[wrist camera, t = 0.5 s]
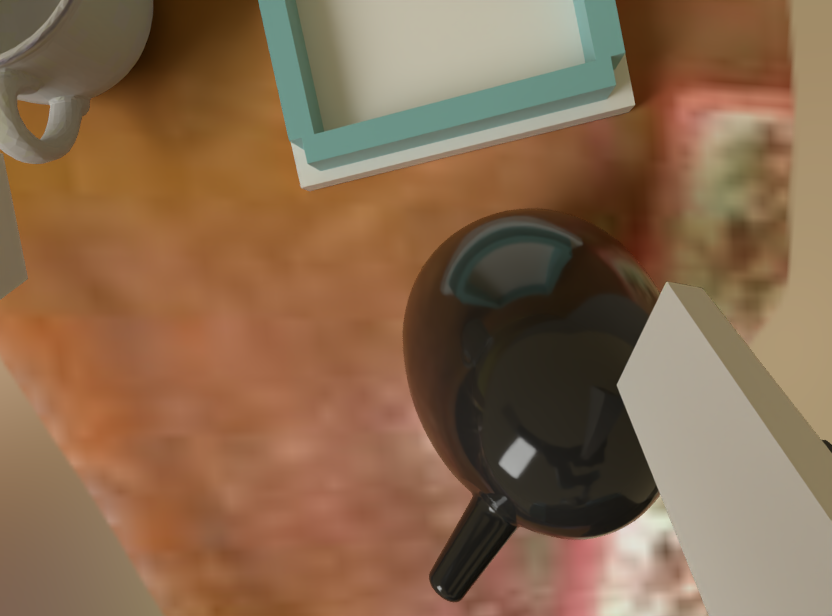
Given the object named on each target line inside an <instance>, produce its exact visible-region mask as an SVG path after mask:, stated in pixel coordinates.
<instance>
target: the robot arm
mask: <svg viewBox="0 0 832 616" xmlns="http://www.w3.org/2000/svg"><path fill="white" fill-rule="evenodd" d="M27 279H28V276H27V271H26V266H25V261H24V257H23V252H22V247H21V242H20V237H19V232H18V227H17V222H16V217H15V212H14V207H13V202H12V197H11V192H10V187H9V182H8V177H7V172H6V167H5V162H4V157H3V154H1V153H0V299H2V298H3V297H4V296H6V295H7V294H8V293H10V292H11V291H12V290H14V289H15V288H16V287H18V286H19V285H20V284H22V283H23V282H24V281H26V280H27ZM617 387H618V390H619V392H620V395H621V397H622V400H623V402H624V405H625V407H626V410H627V412H628V415H629V417H630V420H631V422H632V425H633V427H634V430H635V432H636V435H637V437H638V440H639V442H640V445H641V447H642V450H643V452H644V455H645V457H646V460H647V462H648V465H649V467H650V470H651V472H652V475H653V478H654V480H655V483H656V485H657V488H658V490H659V493H660V495H661V498H662V500H663V503H664V505H665V508H666V510H667V513H668V515H669V518H670V520H671V523H672V525H673V528H674V530H675V533H676V535H677V538H678V540H679V543H680V545H681V548H682V550H683V553H684V555H685V558H686V560H687V563H688V565H689V568H690V570H691V573H692V575H693V578H694V580H695V583H696V585H697V588H698V590H699V593H700V595H701V598H702V600H703V603H704V605H705V608H706V610H707V613H708V615H709V616H832V445H831V444H830V443H829V442H828V441H826V440H821V439H820V437H819V436H818V435H817V434H816V432H815V431H814V430H813V429H812V427H811V426H810V425H809V424H808V422H807V421H806V420H805V419H804V417H803V416H802V414H801V413H800V412H799V411H798V409H797V408H796V407H795V406H794V404H793V403H792V402H791V400H790V399H789V398H788V397H787V395H786V394H785V393H784V392H783V390H782V389H781V388H780V387H779V385H778V384H777V383H776V381H775V380H774V379H773V378H772V376H771V375H770V374H769V372H768V371H767V370H766V369H765V367H764V366H763V365H762V363H761V362H760V361H759V360H758V358H757V357H756V356H755V355H754V353H753V352H752V351H751V349H750V348H749V347H748V346H747V344H746V343H745V342H744V340H743V339H742V338H741V337H740V335H739V334H738V333H737V331H736V330H735V329H734V328H733V326H732V325H731V324H730V323H729V321H728V320H727V319H726V317H725V316H724V315H723V314H722V312H721V311H720V310H719V308H718V307H717V306H716V305H715V303H714V302H713V301H712V300H711V298H710V297H709V296H708V294H707V293H706V292H705V291H704V289H703V288H699V287H694V286H689V285H684V284H679V283H673V282H668V281H666V283H665V285H664V287H663V290H662V292H661V294H660V296H659V298H658V300H657V302H656V304H655V306H654V308H653V310H652V312H651V314H650V317H649V319H648V321H647V323H646V325H645V327H644V329H643V331H642V333H641V335H640V337H639V339H638V342H637V344H636V346H635V348H634V350H633V352H632V354H631V356H630V358H629V360H628V362H627V364H626V367H625V369H624V371H623V373H622V375H621V377H620V379H619V381H618V383H617Z"/></svg>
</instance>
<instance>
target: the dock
mask: <svg viewBox="0 0 832 616" xmlns="http://www.w3.org/2000/svg"><path fill="white" fill-rule="evenodd" d="M258 2H259V7H260V11H261V16H262V20H263V25H264V29H265V34H266V38H267V43H268V47H269V52H270V56H271V61H272V66H273V70H274V75H275V79H276V84H277V88H278V93H279V97H280V102H281V106H282V111H283V115H284V120H285V124H286V129H287V133H288V138H289V141H290V142H291V145H292V149H293V154H294V158H295V163H296V167H297V172H298V176H299V181H300V185H301V188H303V189H305V190H307V191H312V190H316V189H320V188H324V187H328V186H332V185H336V184H340V183H344V182H348V181H352V180H356V179H360V178H364V177H368V176H372V175H376V174H380V173H384V172H389V171H393V170H397V169H401V168H405V167H409V166H413V165H417V164H421V163H425V162H429V161H433V160H437V159H441V158H445V157H449V156H453V155H457V154H461V153H465V152H469V151H473V150H478V149H482V148H486V147H490V146H494V145H498V144H502V143H506V142H510V141H514V140H518V139H522V138H526V137H530V136H534V135H538V134H542V133H546V132H550V131H554V130H558V129H563V128H567V127H571V126H575V125H579V124H583V123H587V122H591V121H595V120H599V119H603V118H607V117H611V116H615V115H619V114H623V113H627V112H629V111H630V110H631V109H632V108H633V107H634V106H635V101H634V96H633V91H632V86H631V81H630V76H629V71H628V65H627V60H626V55H625V48H624V43H623V38H622V33H621V28H620V23H619V17H618V12H617V7H616V2H615V0H258Z"/></svg>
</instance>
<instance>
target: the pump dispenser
mask: <svg viewBox="0 0 832 616" xmlns="http://www.w3.org/2000/svg"><path fill="white" fill-rule="evenodd" d="M659 296H660V292H659V291H658V289H657V287H656V286H655V284H654V282H653V281H652V279H651V278H650V276H649V275H648V274H647V272H646V271H645V270H644V268H643V267H642V266H641V264H640V263H639V262H638V261H637V259H636V258H635V257H634V256H633V255H632V254H631V253H630V252H629V251H628V250H627V249H626V248H625V247H624V246H623V245H622V244H621V243H620V242H619V241H618V240H616V239H615V238H614V237H613V236H611V235H610V234H608V233H607V232H606V231H604V230H602V229H601V228H599V227H597V226H596V225H594V224H592V223H590V222H588V221H586V220H583V219H581V218H579V217H576V216H573V215H570V214H567V213H563V212H558V211H553V210H547V209H516V210H509V211H504V212H499V213H496V214H492V215H489V216H486V217H484V218H481V219H479V220H477V221H474V222H472V223H470V224H469V225H467V226H465V227H463V228H462V229H460V230H459V231H457V232H456V233H454V234H453V235H452V236H450V237H449V238H448V239H447V240H446V241H444V242H443V243H442V244H441V245H440V246H439V247H438V248H437V249H436V250H435V251H434V253H433V254H432V255H431V256H430V257H429V259H428V260H427V261H426V263H425V264H424V266H423V267H422V269H421V271H420V272H419V274H418V276H417V278H416V280H415V282H414V285H413V287H412V289H411V292H410V295H409V298H408V302H407V306H406V310H405V315H404V322H403V353H404V362H405V369H406V375H407V381H408V385H409V389H410V393H411V397H412V400H413V403H414V406H415V409H416V412H417V414H418V417H419V419H420V421H421V424H422V426H423V428H424V430H425V432H426V434H427V436H428V438H429V440H430V441H431V443H432V445H433V447H434V448H435V450H436V452H437V453H438V455H439V456H440V458H441V459H442V460H443V462H444V463H445V465H446V466H447V467H448V469H449V470H450V471H451V472H452V474H453V475H454V476H455V477H456V478H457V479H458V480H459V481H460V482H461V483H462V484H463V485H464V486H465V487H466V488H467V489H468V490H469V491H470V492H471V493H472V495H473V497H472V499H471V501H470V503H469V505H468V506H467V508H466V510H465V512H464V513H463V515H462V517H461V519H460V520H459V522H458V524H457V526H456V527H455V529H454V531H453V533H452V534H451V536H450V538H449V540H448V541H447V543H446V545H445V547H444V548H443V550H442V552H441V554H440V555H439V557H438V559H437V561H436V562H435V564H434V566H433V568H432V569H431V571H430V574H429V580H430V584H431V586H432V588H433V589H434V590H435V592H436V593H437V594H438V595H440V596H441V597H442V598H443V599H445V600H447V601H450V602H459V601H461V600H462V599H463V597H464V596H465V595H466V593H467V592H468V591H469V590H470V588H471V587H472V586H473V584H474V583H475V582H476V581H477V579H478V578H479V577H480V575H481V574H482V573H483V572H484V570H485V569H486V568H487V566H488V565H489V564H490V563H491V561H492V560H493V559H494V557H495V556H496V555H497V554H498V552H499V551H500V550H501V548H502V547H503V546H504V545H505V543H506V542H507V541H508V540H509V538H510V537H511V536H512V534H513V533H514V532H515V531H516V530H517V528H519V527H524V528H526V529H529V530H531V531H534V532H536V533H539V534H543V535H547V536H551V537H556V538H561V539H569V540H585V539H593V538H597V537H601V536H605V535H608V534H610V533H613V532H615V531H618V530H620V529H622V528H624V527H626V526H627V525H629V524H630V523H632V522H633V521H635V520H636V519H638V518H639V517H640V516H641V515H642V514H644V513H645V512H646V511H647V510H648V509H649V508H650V507H651V506H652V505H653V503H654V502H655V501H656V500H657V499H658V497H659V496H660V493H659V490H658V488H657V485H656V483H655V480H654V478H653V475H652V472H651V470H650V467H649V465H648V462H647V460H646V457H645V455H644V452H643V450H642V447H641V445H640V442H639V440H638V437H637V435H636V432H635V430H634V427H633V425H632V422H631V420H630V417H629V415H628V412H627V410H626V407H625V405H624V402H623V400H622V397H621V395H620V392H619V390H618V387H617V383H618V381H619V379H620V377H621V375H622V373H623V371H624V369H625V367H626V364H627V362H628V360H629V358H630V356H631V354H632V352H633V350H634V348H635V346H636V344H637V342H638V339H639V337H640V335H641V333H642V331H643V329H644V327H645V325H646V323H647V321H648V319H649V317H650V314H651V312H652V310H653V308H654V306H655V304H656V302H657V300H658V298H659Z"/></svg>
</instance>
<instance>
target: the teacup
mask: <svg viewBox="0 0 832 616" xmlns="http://www.w3.org/2000/svg"><path fill="white" fill-rule="evenodd" d="M152 18H153V0H0V149H1V150H2V151H3V152H5V153H6V154H8V155H9V156H11V157H13V158H15V159H17V160H19V161H21V162H25V163H31V164H43V163H46V162H49V161H53V160H56V159H59V158H61V157H62V156H64V155H66V154H67V153H68V152H69V151H70V149H71V148H72V146H73V144H74V143H75V141H76V138H77V135H78V132H79V128H80V124H81V119H82V116H84V115H86V113H87V112H88V111H89V108H90V99H91V98H93V97H95V96H98V95H100V94H102V93H103V92H105V91H107V90H109V89H110V88H112V87H113V86H114V85H116V84H117V83H118V82H119V81H120V80H122V79H123V78H124V77H125V76H126V75H127V74H128V73H129V71H130V70H131V69H132V68H133V66H134V65H135V64H136V62H137V61H138V59H139V57H140V55H141V54H142V52H143V50H144V47H145V44H146V42H147V39H148V36H149V33H150V29H151V23H152ZM17 99H18V100H22V101H26V102H32V103H38V104H48V105H50V112H49V119H48V124H47V127H46V130H45V133H44V135H43V136H42V138H41V139H40V140H39V139H38V138H36V137H35V136H34V135H33V134H32V133H31V132H30V131H29V130H28V129H27V128H26V126H25V124H24V123H23V121H22V119H21V117H20V115H19V112H18V108H17Z"/></svg>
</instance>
